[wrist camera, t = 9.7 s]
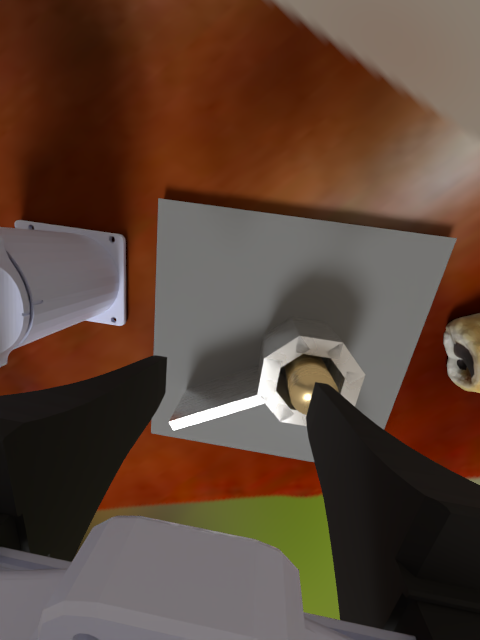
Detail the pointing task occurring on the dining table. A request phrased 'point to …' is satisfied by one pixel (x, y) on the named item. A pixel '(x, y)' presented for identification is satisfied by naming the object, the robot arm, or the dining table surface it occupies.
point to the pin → (306, 379)
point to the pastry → (464, 352)
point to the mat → (283, 307)
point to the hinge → (273, 376)
